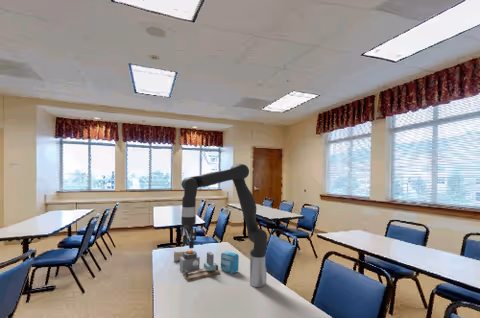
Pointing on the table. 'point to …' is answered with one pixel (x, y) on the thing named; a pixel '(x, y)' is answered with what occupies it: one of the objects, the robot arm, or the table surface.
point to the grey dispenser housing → (189, 261)
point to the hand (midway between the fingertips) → (188, 246)
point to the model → (178, 255)
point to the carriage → (210, 262)
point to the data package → (229, 262)
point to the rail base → (199, 273)
